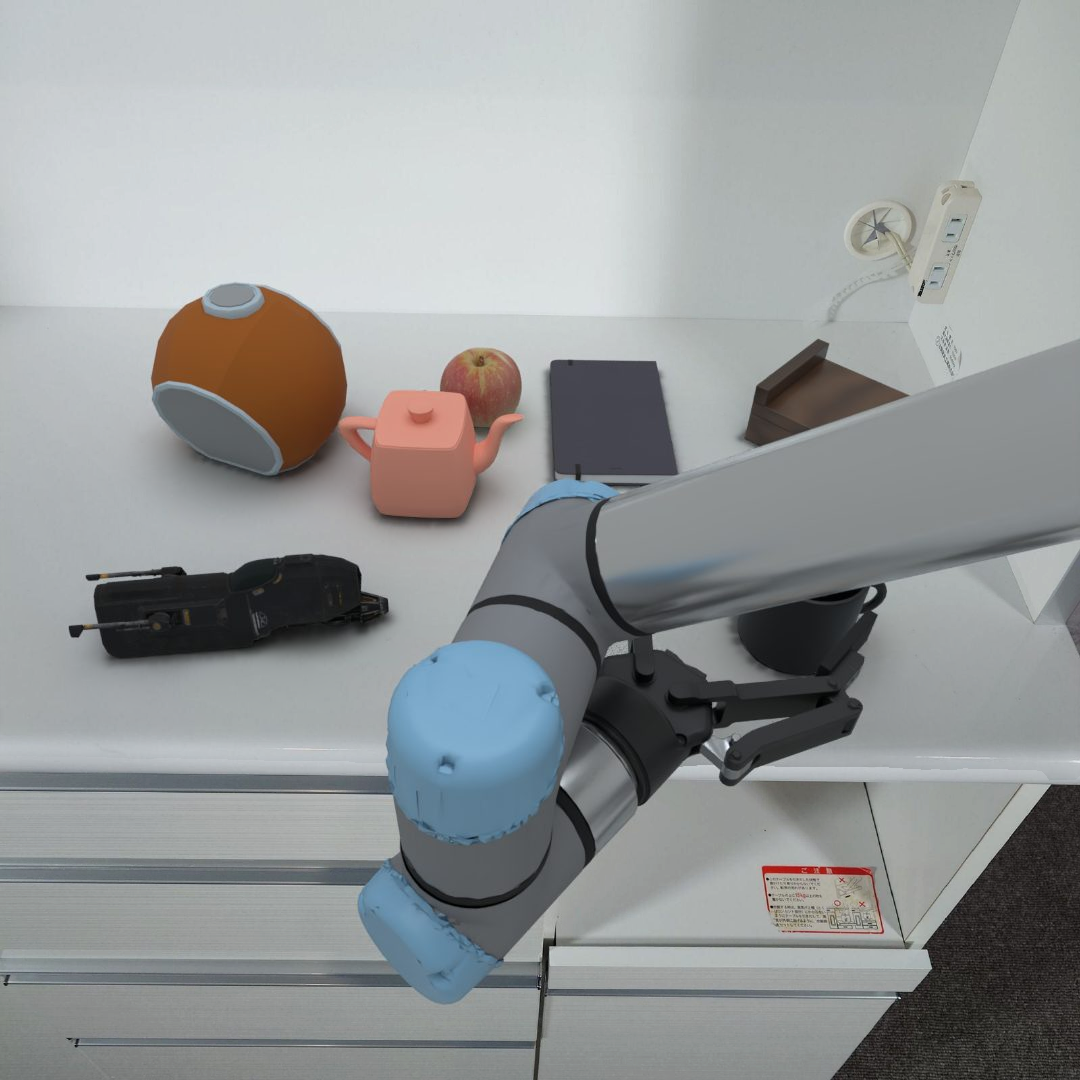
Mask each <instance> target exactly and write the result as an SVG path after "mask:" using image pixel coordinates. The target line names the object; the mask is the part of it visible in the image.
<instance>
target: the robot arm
mask: <svg viewBox="0 0 1080 1080" xmlns="http://www.w3.org/2000/svg"><path fill="white" fill-rule="evenodd" d="M1075 541H1080V337H1079V338H1076V339H1074V340H1073V339H1072V340H1070V341H1067V342H1064V343H1061V344H1059V345H1055V346H1053V347H1050V348H1046V349H1044V350H1040V351H1038V352H1035V353H1031V354H1028V355H1026V356H1023V357H1019V358H1017V359H1014V360H1012V361H1008V362H1006V363H1002V364H1000V365H997V366H993V367H990V368H988V369H985V370H982V371H978V372H975V373H973V374H969V375H967V376H964V377H961V378H958V379H955V380H952V381H950V382H946V383H943V384H941V385H937V386H935V387H931V388H929V389H926V390H922V391H920V392H917V393H914V394H910V396H908V397H905V398H902V399H899V400H896V401H893V402H890V403H887V404H884V405H881V406H878V407H875V408H872V409H870V410H867V411H864V412H861V413H858V414H855V415H852V416H849V417H846V418H843V419H840V420H837V421H834V422H831V423H828V424H825V425H822V426H819V427H816V428H813V429H811V430H808V431H805V432H802V433H799V434H796V435H793V436H790V437H787V438H784V439H781V440H778V441H775V442H772V443H769V444H766V445H763V446H760V445H759V446H758V447H755V448H752V449H748V450H746V451H743V452H740V453H737V454H734V455H731V456H728V457H725V458H722V459H720V460H716V461H713V462H710V463H707V464H705V465H701V466H699V467H696V468H693V469H690V470H687V471H684V472H682V473H678V475H675V476H672V477H669V478H666V479H663V480H660V481H657V482H654V483H651V484H648V485H645V486H644V485H641V486H639V487H636V488H634V489H630V490H628V491H625V492H622V493H620V492H619V491H617V490H616V489H615V488H612V487H611V486H610V485H605V484H602V483H599V482H596V481H592V480H590V481H587V482H585V481H577V480H573V479H571V478H568V479H561V480H557V481H555V480H554V481H551V482H549V483H547V484H545V485H543V486H541V487H540V488H539V489H538V490H536V491H535V492H533V494H532V495H531V496H530V497H529V498H528V500H527V502H526V503H525V505H524V506H523V507H522V510H520V512H519V514H518V515H517V516H516V518H515V520H514V521H513V522H512V524H510V525H509V526H508V527H507V529H506V531H505V533H504V535H503V538H502V540H501V543H500V545H499V549H498V551H497V553H496V555H495V557H494V560H493V561H492V563H491V566H490V567H489V569H488V571H487V573H486V574H485V575H486V576H485V577H484V579H483V581H482V583H481V585H480V587H479V590H478V591H477V593H476V596H475V597H474V600H473V602H472V604H471V605H470V608H469V609H468V611H467V614H466V616H465V617H464V619H463V621H462V622H461V624H460V626H459V628H458V629H457V631H456V633H455V635H454V637H453V639H452V641H451V643H449V644H445V645H442V646H440V647H438V648H436V649H435V650H434V651H433V652H432V653H431V654H430V655H428V656H426V657H425V658H423V659H421V660H420V661H419V662H418V663H416V664H415V663H414V664H413V666H411V667H410V668H408V669H407V670H406V671H405V673H404V674H403V675H402V677H401V678H400V680H399V682H398V683H397V685H396V687H395V688H394V690H393V693H392V696H391V699H390V702H389V706H388V711H387V722H386V723H387V736H386V742H385V747H386V751H387V755H386V757H385V765H386V768H387V771H388V773H387V780H388V782H389V787H390V789H391V793H392V799H393V804H394V809H395V811H394V812H395V816H396V822H397V827H398V833H399V852H397V853H396V854H395V855H393V856H392V857H388V858H386V860H384V861H383V862H382V864H381V867H380V868H379V870H378V871H377V872H376V873H375V874H374V875H373V876H372V877H371V879H370V880H369V881H368V882H367V883H366V884H365V885H364V886H363V887H362V889H361V891H360V893H359V894H358V897H357V904H356V905H357V912H358V916H359V918H360V920H361V921H360V922H361V923H362V925H363V928H364V929H365V931H366V932H367V934H368V936H369V938H370V939H371V941H372V942H373V944H374V945H375V946H376V948H377V949H378V951H379V952H380V953H381V955H382V956H383V957H384V958H385V960H386V961H387V962H388V964H389V965H390V966H391V967H392V968H393V969H394V970H395V972H397V973H398V975H399V976H400V977H401V978H402V979H403V980H404V981H405V982H406V983H407V984H408V985H409V986H410V987H411V988H413V989H414V990H415V991H416V992H417V993H419V994H420V995H421V996H422V997H423V998H425V999H427V1000H429V1001H430V1002H433V1003H435V1004H438V1005H452V1004H455V1003H458V1002H460V1001H461V1000H462V999H464V998H465V997H466V995H468V994H469V993H470V992H471V991H472V990H473V989H474V988H475V987H476V986H477V985H479V983H480V982H481V981H482V980H484V979H485V978H486V977H487V976H488V975H489V974H490V973H491V972H492V971H494V969H498V968H500V967H501V966H502V965H503V964H504V963H505V957H506V956H507V955H508V953H510V951H511V950H512V949H513V948H514V947H515V946H516V945H517V944H518V942H519V941H520V940H522V938H524V936H525V935H526V934H527V933H528V932H529V930H531V928H532V927H533V926H534V925H535V924H536V923H537V921H538V920H539V919H540V918H541V917H542V916H543V915H544V914H545V913H546V911H547V910H548V909H549V908H550V907H551V906H552V905H553V904H554V903H555V902H556V900H557V899H559V897H560V896H561V895H562V894H563V893H564V892H565V891H566V890H567V888H568V887H569V886H570V885H571V884H572V883H573V882H574V880H576V878H578V876H579V875H580V874H581V873H582V872H583V870H584V869H585V868H586V867H587V866H588V865H589V864H590V863H591V862H592V861H593V859H594V858H595V857H596V856H598V854H599V853H600V852H601V851H602V850H603V848H605V846H607V844H608V843H610V841H611V840H612V839H613V838H614V837H615V836H616V835H617V834H618V833H619V832H620V831H621V829H622V828H623V827H624V826H626V824H627V823H628V822H630V820H631V819H632V818H633V817H634V816H635V815H636V812H637V810H638V807H642V806H644V805H645V804H646V803H647V802H648V801H649V800H650V799H651V798H652V796H653V795H654V794H656V792H657V791H658V790H659V789H660V788H661V787H662V786H663V784H665V782H666V781H667V780H668V779H669V778H671V776H672V775H673V774H674V773H675V772H676V770H677V769H679V767H680V766H682V764H683V763H684V762H685V761H686V760H687V759H689V758H690V757H693V756H696V755H700V754H701V755H702V756H703V757H704V758H705V759H706V760H708V761H709V762H710V763H711V764H712V765H714V766H715V767H716V768H717V769H718V770H719V773H718V778H719V781H720V783H721V784H722V785H724V786H726V787H735V786H737V785H738V784H739V783H740V782H741V781H742V780H743V779H744V778H745V777H747V776H748V775H749V774H750V773H751V772H752V771H753V770H755V769H758V768H760V767H763V766H766V765H768V764H772V763H775V762H777V761H780V760H783V759H786V758H789V757H792V756H794V755H798V754H800V753H803V752H806V751H809V750H811V749H814V748H817V747H820V746H823V745H825V744H829V743H831V742H835V741H837V740H840V739H843V738H846V737H848V736H850V735H852V733H853V731H854V729H855V727H856V725H857V723H858V721H859V718H860V717H861V714H862V712H863V710H864V705H863V703H862V702H861V701H860V700H859V699H857V698H855V697H851V696H849V694H847V692H846V691H848V689H849V688H850V687H851V685H852V684H853V683H854V682H855V681H856V679H857V678H858V677H859V675H860V672H861V670H862V669H863V665H864V664H865V658H866V657H865V656H864V655H862V654H861V653H859V651H860V650H861V649H862V647H863V646H865V644H866V643H867V641H868V639H869V637H870V634H871V632H872V630H873V627H874V625H875V623H876V620H877V619H878V616H879V614H877V613H876V612H874V611H873V610H872V611H871V610H869V609H867V611H866V612H865V613H864V614H861V616H860V618H858V619H857V621H856V623H855V624H854V626H853V627H852V628H851V629H850V630H849V631H848V632H847V634H846V635H845V636H844V637H843V638H842V639H841V640H840V642H839V643H838V644H837V645H836V646H835V647H834V649H833V650H832V651H831V652H830V653H829V654H828V655H827V657H826V658H825V659H824V660H823V661H822V662H821V663H820V665H819V668H818V670H817V673H815V675H814V676H808V677H798V678H797V677H796V678H789V679H788V678H787V679H776V680H765V681H756V682H755V681H754V682H743V683H735V682H734V681H733V680H731V679H723V680H714V681H713V680H712V681H708V680H707V674H706V673H704V672H703V671H701V669H698V668H696V667H694V666H692V665H690V664H687V663H685V662H684V661H683V659H681V658H680V657H679V656H678V655H677V654H676V653H675V652H673V651H671V650H670V649H669V648H666V649H665V650H662V649H654V642H653V635H655V634H657V633H661V632H666V631H667V632H668V631H670V630H675V629H680V628H685V627H688V626H689V627H690V626H693V625H697V624H703V623H707V622H712V621H716V620H720V619H721V620H722V619H726V618H729V617H734V616H735V617H736V616H739V614H744V613H748V612H753V611H758V610H762V609H767V608H771V607H776V606H780V605H785V604H789V603H794V602H798V601H803V600H808V599H812V598H817V597H821V596H826V595H830V594H835V593H839V592H844V591H849V590H853V589H858V588H862V587H867V586H870V587H871V585H876V584H880V583H885V584H886V583H890V582H893V581H898V580H902V579H907V578H912V577H916V576H921V575H926V574H930V573H934V572H938V571H944V570H948V569H953V568H957V567H962V566H966V565H971V564H975V563H980V562H985V561H988V560H989V561H990V560H993V559H998V558H1003V557H1006V556H1007V557H1008V556H1012V555H1016V554H1021V553H1025V552H1029V551H1030V552H1031V551H1035V550H1039V549H1044V548H1048V547H1053V546H1057V545H1062V544H1067V543H1070V542H1071V543H1072V542H1075ZM621 642H627V652H626V653H625V652H624V653H619V654H612V655H608V656H606V655H607V653H608V650H609V648H610V647H612V645H614V644H617V643H621ZM713 703H716V705H715V706H714V707H713ZM776 719H781V720H777V721H775V722H771V723H769V724H765V725H762V726H759V727H757V728H754V729H752V730H750V731H749V732H747V733H746V734H743V736H741V735H740V734H739V733H736V732H735V733H732V734H731V735H729V736H726V737H723V738H720V737H717V736H716V735H714V730H718V729H726V728H728V727H730V726H731V725H733V724H735V723H744V722H745V723H746V722H752V721H753V722H755V721H764V720H776Z"/></svg>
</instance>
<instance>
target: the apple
mask: <svg viewBox="0 0 1080 1080" xmlns="http://www.w3.org/2000/svg"><path fill="white" fill-rule="evenodd" d="M522 383H523V382H522V375H521V371H520V369H519V366H518V364H517V363H516V362H515V360H514V359H513V358H512V356H510V355H509V354H507V353H505V352H504V351H502V350H499V349H496V348H491V347H471V348H468V349H465V350H463V351H462V352H459V353H458V354H456V355H455V356H454V357H452V359H451V360H450V361H449V362H448V363H447V364H446V366H445V368H444V370H443V372H442V374H441V378H440V383H439V392H452V393H460V394H462V395H463V396H464V397H465V400H466V402H467V405H468V408H469V411H470V415H471V418H472V422H473V426H474V428H491V426H492V424H493V423H494V421H495V420H496V419H498V418H499V417H501V416H503V415H508V414H515V413H516V411H517V409H518V406H519V404H520V400H521V398H522V397H521V396H522V391H523V384H522Z"/></svg>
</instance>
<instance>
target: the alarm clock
mask: <svg viewBox="0 0 1080 1080" xmlns="http://www.w3.org/2000/svg"><path fill="white" fill-rule="evenodd" d="M155 349H156V350H155V355H154V361H153V366H152V371H151V376H150V381H151V389H152V396H151V402H152V405H153V406H154V408H155V411H156V412H157V414H158V416H159V417H160V419H162V421H163V422H164V423H165V424H166V425H167V426H168V427H169V428H170V430H171V431H173V433H174V434H175V435H176V436H177V437H179V438H180V439H181V440H183V441H184V442H185V443H186V444H188V445H189V446H190V447H191V448H192V449H194V450H195V451H197V452H198V453H200V454H201V455H204V456H205V457H206V458H209V459H211V460H214V461H219V462H221V463H224V464H228V465H230V466H234V467H237V468H241V469H244V470H247V471H251V472H254V473H257V474H260V475H264V476H275V475H279V474H281V473H285V472H288V471H291V470H295V469H297V468H298V467H299V466H301V465H303V464H304V463H306V462H307V461H309V460H310V459H312V458H313V457H314V456H315V454H316V453H317V452H318V451H319V450H320V449H321V448H322V446H323V445H324V444H325V443H326V442H327V441H328V440H329V438H330V436H331V435H332V433H333V432H334V431H335V429H336V428H337V427H338V424H339V422H340V421H341V417H342V415H343V412H344V410H345V408H346V404H347V393H348V381H347V373H346V366H345V363H344V357H343V350H342V344H341V343H340V341H339V340H338V338H337V337H336V335H335V333H334V332H333V330H332V328H331V326H330V325H328V323H327V322H326V321H324V319H322V317H321V316H319V315H318V314H317V312H315V311H314V309H312V308H311V307H309V306H308V305H307V304H305V303H303V302H302V301H300V300H299V299H297V298H296V297H295V296H292V295H291V294H289V293H287V292H285V291H283V290H280V289H277V288H274V287H272V286H269V285H267V284H256V283H255V284H254V283H249V282H237V281H236V282H235V281H233V282H228V283H227V282H226V283H222V284H219V285H216V286H214V287H211V288H210V289H208V290H207V291H206V293H205V294H204V295H202V296H201V297H199V298H196V299H195V300H193V301H190V302H188V303H186V304H185V305H184V306H182V308H180V309H179V310H178V311H177V312H176V313H175V314H174V315H173V316H172V317H171V318H170V319H169V320H168V322H167V324H166V326H165V327H164V329H163V331H162V333H161V335H160V337H159V338H158V340H157V344H156V348H155Z"/></svg>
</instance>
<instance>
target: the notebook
mask: <svg viewBox="0 0 1080 1080" xmlns="http://www.w3.org/2000/svg"><path fill="white" fill-rule="evenodd" d="M657 363H658V362H657V360H618V359H617V360H613V359H610V360H609V359H608V360H607V359H606V360H605V359H553V360H551V361H550V364H549V370H550V372H549V390H550V410H551V411H550V413H551V435H552V437H551V438H552V439H551V440H552V464H553V465H552V466H553V479H554V481H557V480H561V479H568V478H571V479H573V480H577V481H585V482H587V481H590V480H592V481H596V482H599V483H602V484H605V485H607V486H645V485H648V484H651V483H654V482H657V481H660V480H663V479H666V478H669V477H672V476H675V475H678V474H679V471H678V467H677V462H676V456H675V452H674V445H673V441H672V436H671V432H670V425H669V421H668V415H667V410H666V404H665V399H664V395H663V390H662V384H661V379H660V374H659V369H658V364H657Z"/></svg>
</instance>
